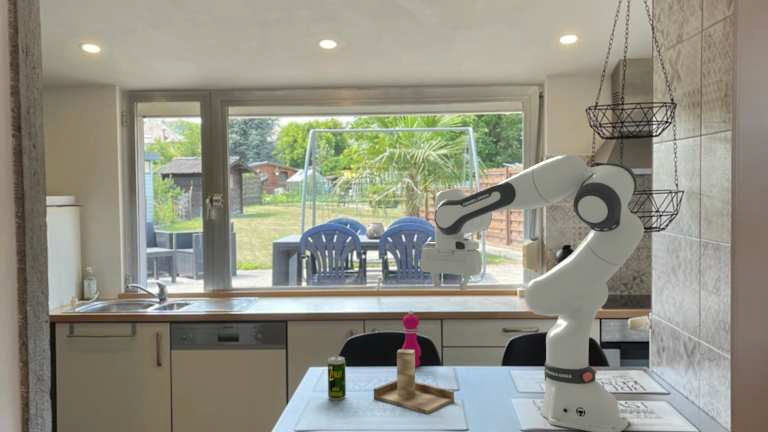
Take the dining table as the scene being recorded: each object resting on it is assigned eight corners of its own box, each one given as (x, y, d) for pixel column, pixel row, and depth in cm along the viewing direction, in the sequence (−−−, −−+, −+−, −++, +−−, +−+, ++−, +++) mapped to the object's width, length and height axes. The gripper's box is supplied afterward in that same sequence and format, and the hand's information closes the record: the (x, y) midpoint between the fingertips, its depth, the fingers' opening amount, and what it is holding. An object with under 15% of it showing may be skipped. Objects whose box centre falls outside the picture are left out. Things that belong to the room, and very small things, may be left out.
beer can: (329, 394, 174) (328, 356, 173) (346, 394, 174) (345, 356, 173) (327, 400, 168) (326, 361, 168) (345, 400, 168) (344, 360, 168)
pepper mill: (421, 362, 209) (420, 308, 208) (420, 367, 201) (420, 312, 201) (402, 361, 209) (401, 308, 209) (400, 367, 202) (400, 312, 202)
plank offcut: (415, 391, 172) (414, 349, 172) (413, 395, 169) (413, 352, 169) (399, 390, 173) (398, 349, 173) (397, 394, 170) (396, 352, 170)
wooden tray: (454, 401, 167) (453, 391, 167) (427, 413, 157) (427, 403, 157) (401, 387, 180) (401, 378, 180) (373, 398, 170) (373, 388, 170)
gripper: (415, 242, 174) (416, 286, 174) (472, 244, 160) (473, 292, 160) (428, 241, 178) (428, 284, 179) (484, 243, 165) (484, 290, 165)
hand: (450, 288), depth 169 cm, fingers open, 8 cm apart
